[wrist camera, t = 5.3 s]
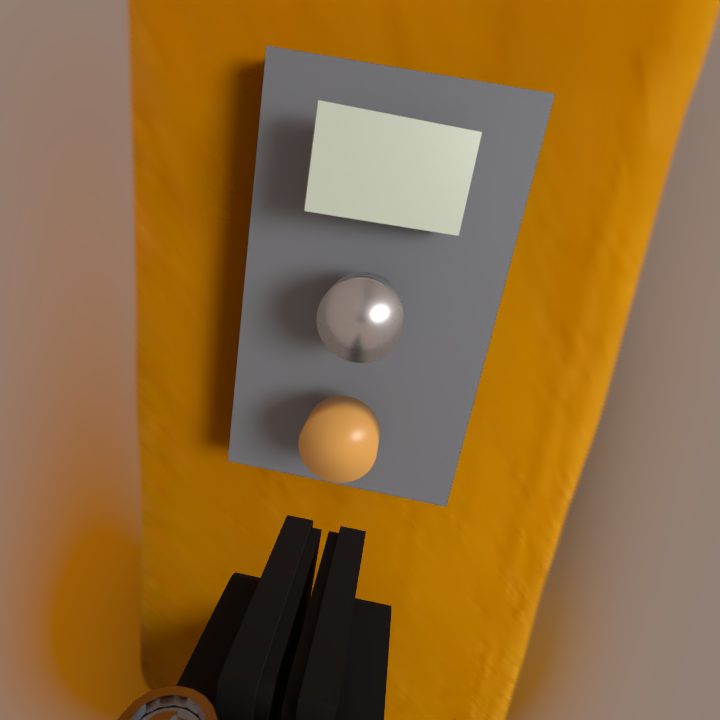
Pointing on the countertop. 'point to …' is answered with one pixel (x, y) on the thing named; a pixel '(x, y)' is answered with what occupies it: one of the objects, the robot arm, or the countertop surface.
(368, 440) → the button orange
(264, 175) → the panel
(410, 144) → the block
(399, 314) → the button metal
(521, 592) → the countertop surface
